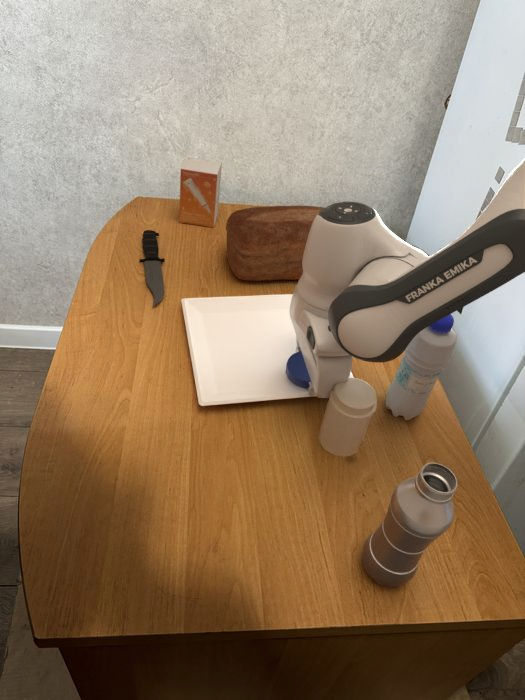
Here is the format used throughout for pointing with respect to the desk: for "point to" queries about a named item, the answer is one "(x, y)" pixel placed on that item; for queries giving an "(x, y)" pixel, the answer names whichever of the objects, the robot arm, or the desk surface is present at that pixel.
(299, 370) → the lid
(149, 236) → the knife
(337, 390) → the jar
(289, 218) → the bread
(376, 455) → the desk surface
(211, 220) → the small box
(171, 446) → the desk surface
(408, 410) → the bottle
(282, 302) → the plate
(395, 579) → the silver ringed container
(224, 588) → the desk surface
